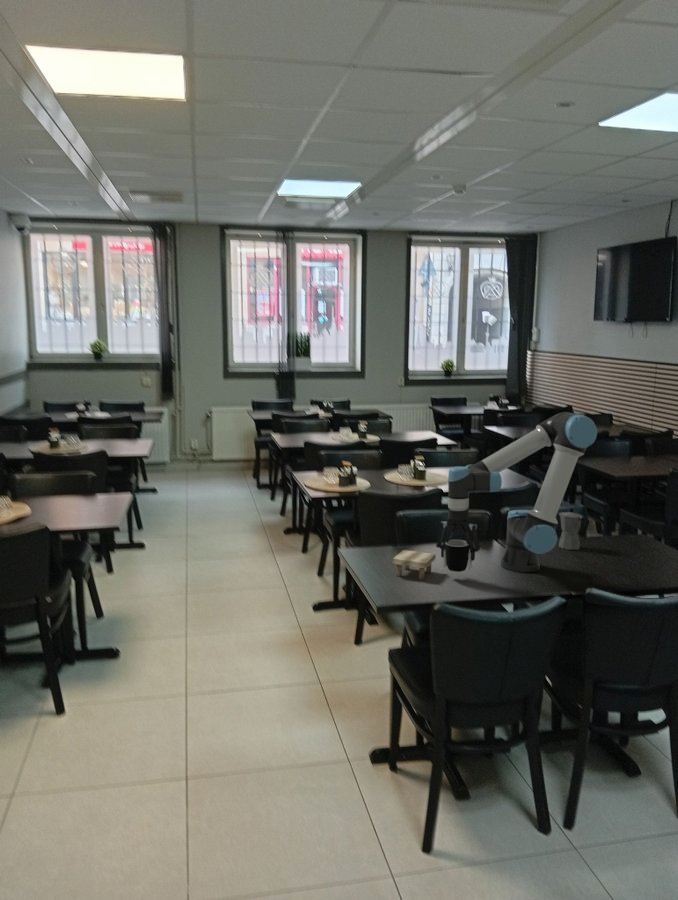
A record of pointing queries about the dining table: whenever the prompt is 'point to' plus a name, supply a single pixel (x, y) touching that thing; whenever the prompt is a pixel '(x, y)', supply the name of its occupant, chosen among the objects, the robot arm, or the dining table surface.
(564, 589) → the dining table surface
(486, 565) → the dining table surface
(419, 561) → the footstool
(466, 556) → the mug
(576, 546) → the coffeepot
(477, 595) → the dining table surface
